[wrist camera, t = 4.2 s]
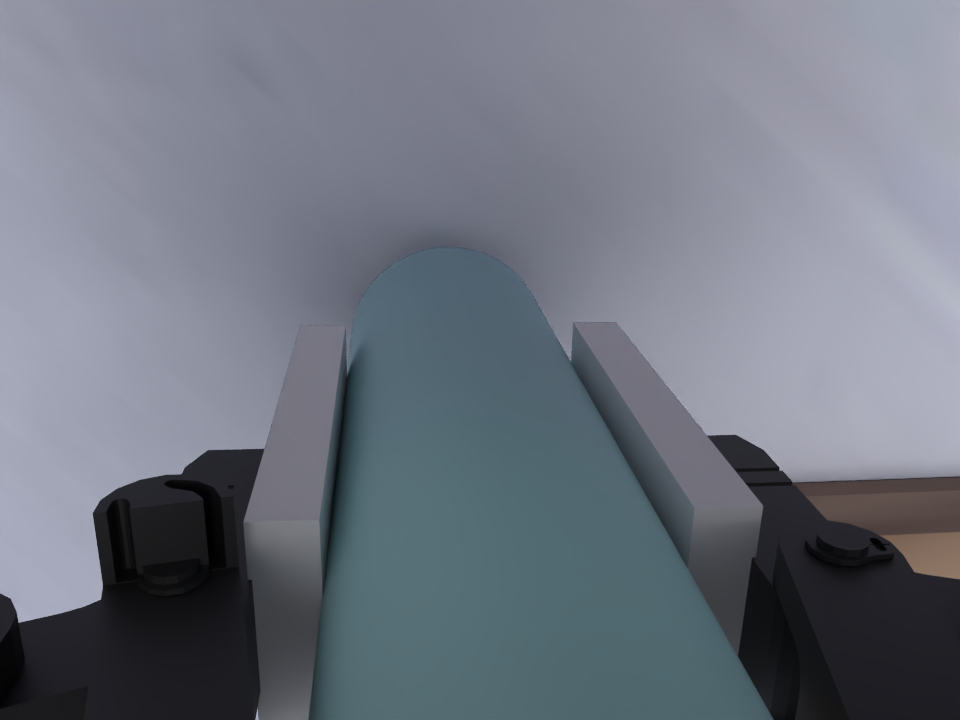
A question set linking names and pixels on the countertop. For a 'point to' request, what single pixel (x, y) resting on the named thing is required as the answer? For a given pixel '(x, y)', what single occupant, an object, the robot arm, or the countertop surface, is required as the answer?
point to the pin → (498, 528)
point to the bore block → (900, 516)
